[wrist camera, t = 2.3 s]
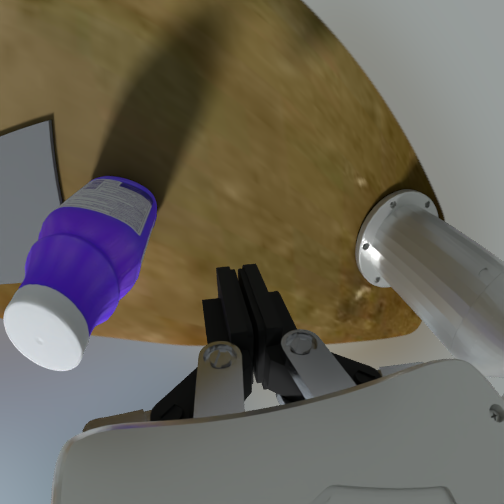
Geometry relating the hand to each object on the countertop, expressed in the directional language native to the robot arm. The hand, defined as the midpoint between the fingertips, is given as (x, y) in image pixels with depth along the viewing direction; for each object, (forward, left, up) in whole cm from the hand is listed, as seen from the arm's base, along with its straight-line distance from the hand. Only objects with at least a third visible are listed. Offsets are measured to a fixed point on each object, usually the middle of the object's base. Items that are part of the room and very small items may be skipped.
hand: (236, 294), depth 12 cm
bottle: (+9, 0, -15) cm, 18 cm away
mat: (+25, -1, -15) cm, 29 cm away
